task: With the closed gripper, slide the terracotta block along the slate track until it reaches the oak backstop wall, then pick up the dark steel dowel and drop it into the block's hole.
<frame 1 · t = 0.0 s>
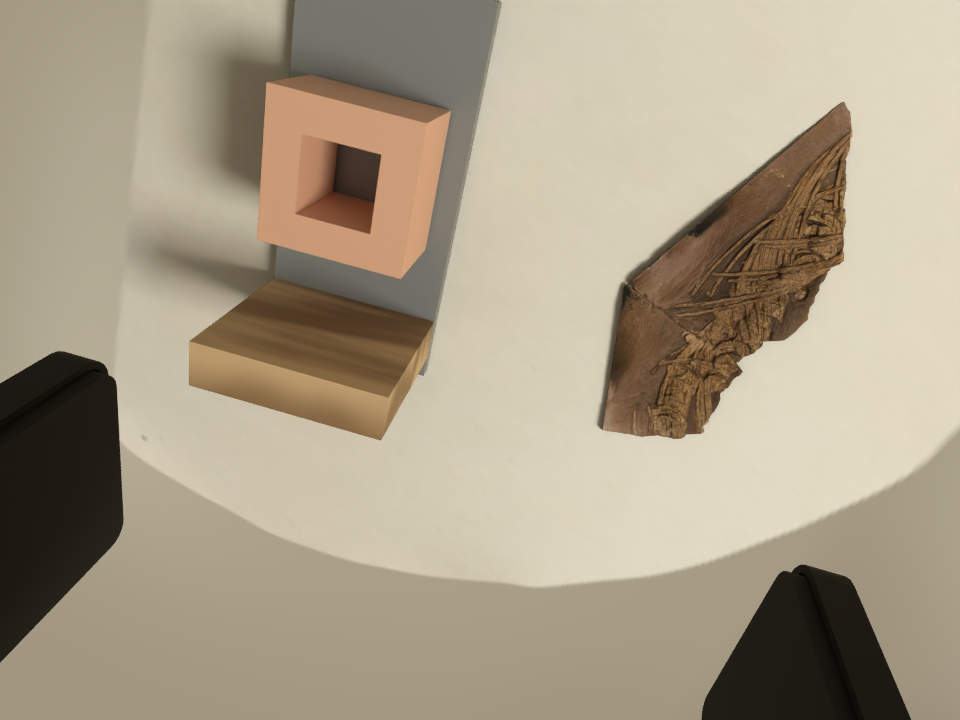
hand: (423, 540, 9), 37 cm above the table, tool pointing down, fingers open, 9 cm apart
backstop: (351, 318, 49), resting on track
track: (373, 187, 45), on the table
wooden fragment: (718, 291, 45), on the table
block: (354, 174, 41), point 4 cm above the table, slide at 0.0 cm
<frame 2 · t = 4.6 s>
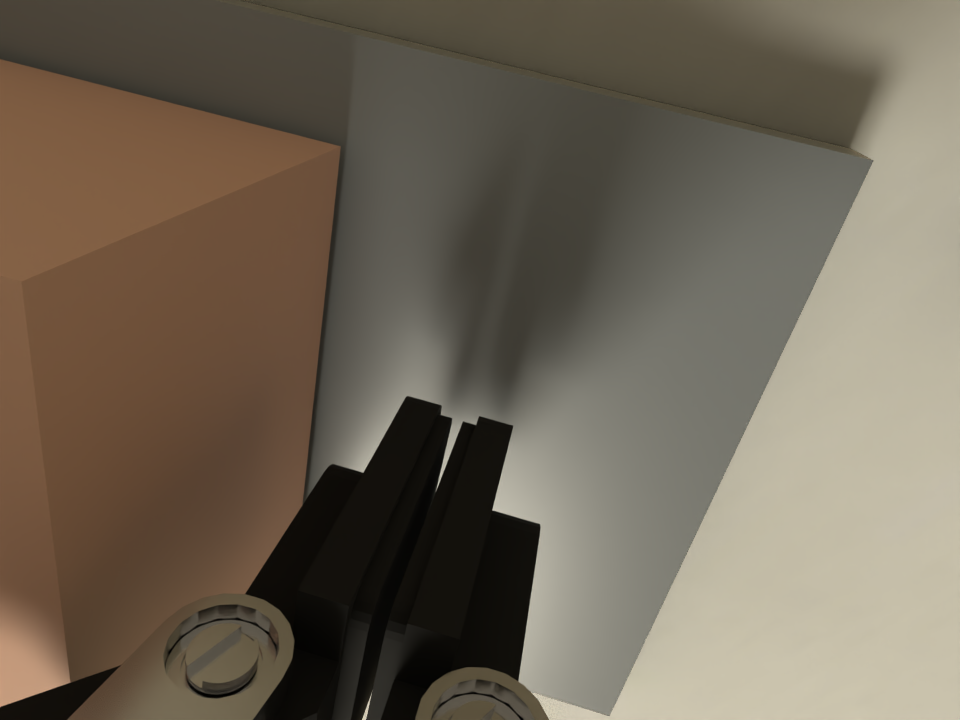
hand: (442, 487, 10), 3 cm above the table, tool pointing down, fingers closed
track: (89, 298, 14), on the table
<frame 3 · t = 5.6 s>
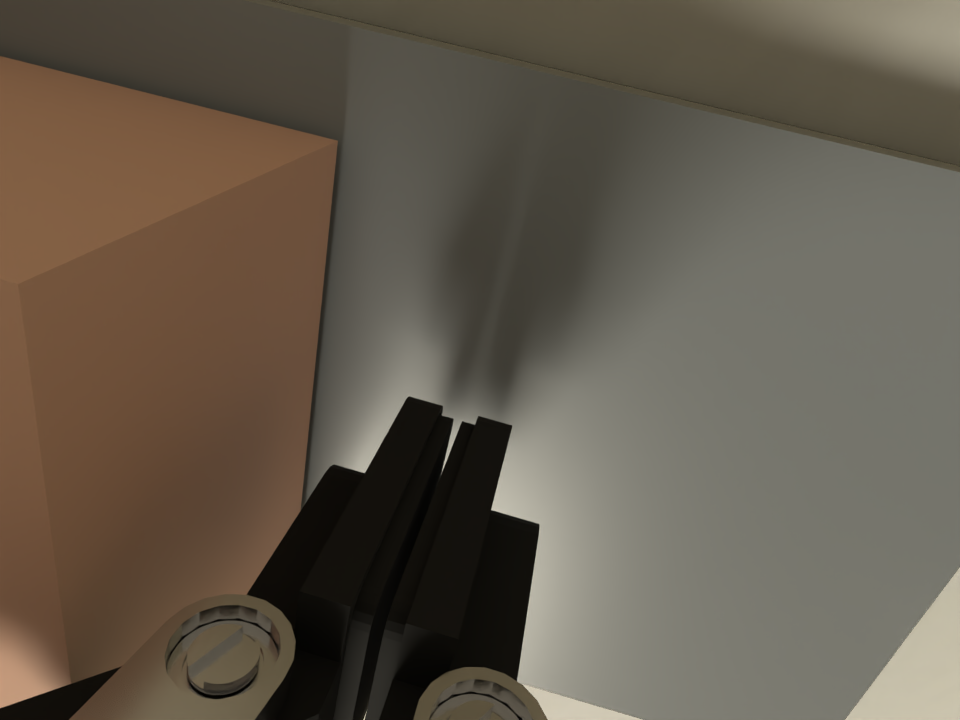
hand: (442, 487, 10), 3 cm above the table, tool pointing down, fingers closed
track: (288, 352, 13), on the table
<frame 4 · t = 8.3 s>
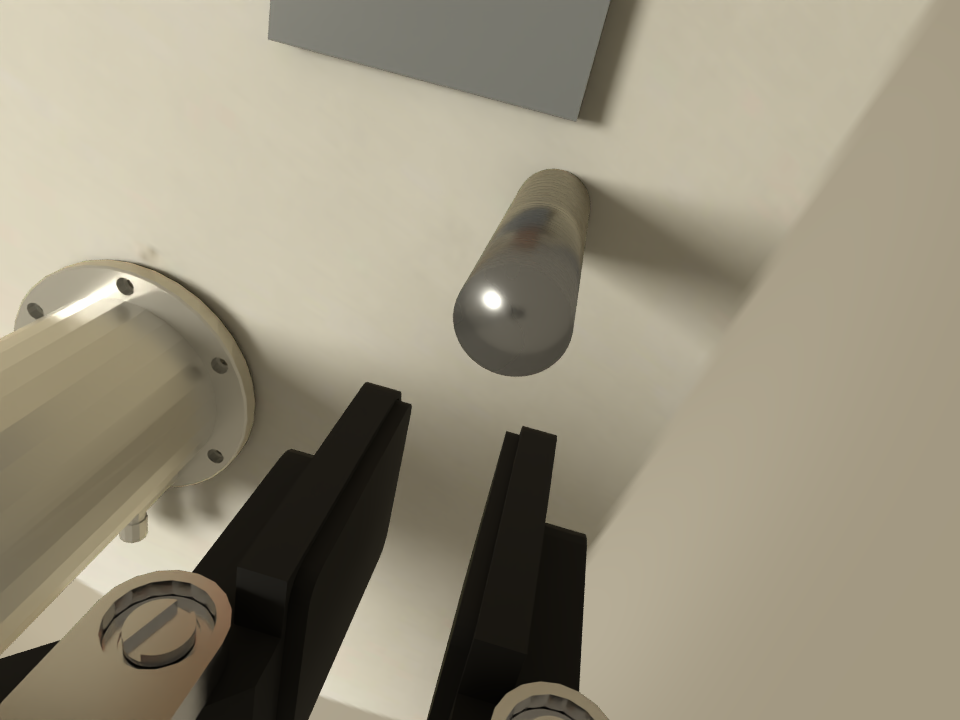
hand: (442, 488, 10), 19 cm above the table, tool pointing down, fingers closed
dowel: (552, 206, 27), on the table
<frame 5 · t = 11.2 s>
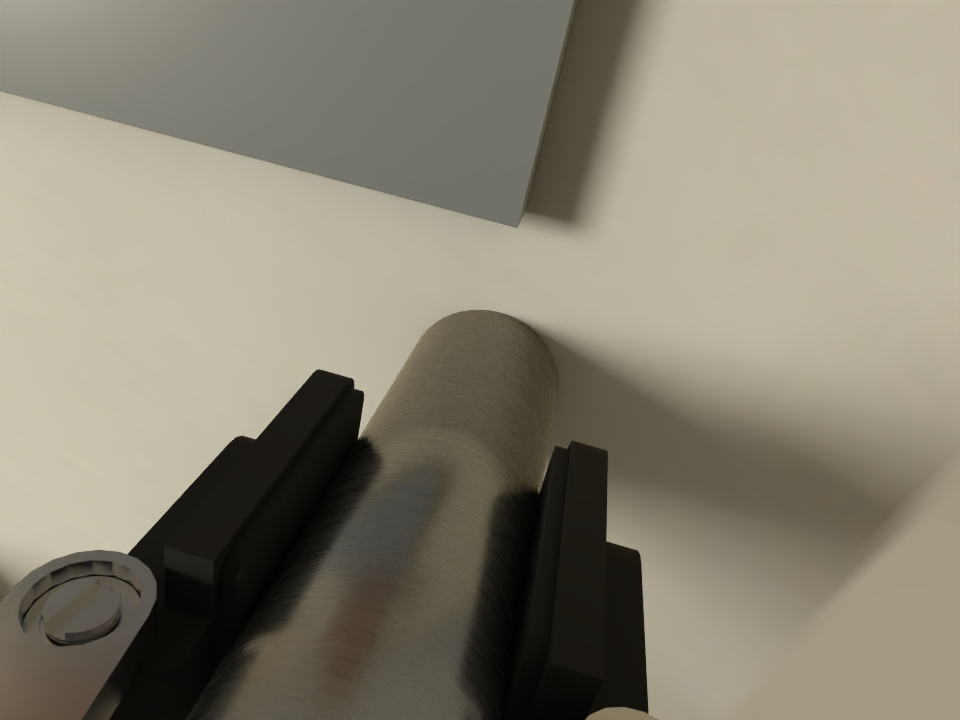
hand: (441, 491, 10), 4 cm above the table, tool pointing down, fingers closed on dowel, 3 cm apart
dowel: (482, 379, 14), on the table, touching gripper
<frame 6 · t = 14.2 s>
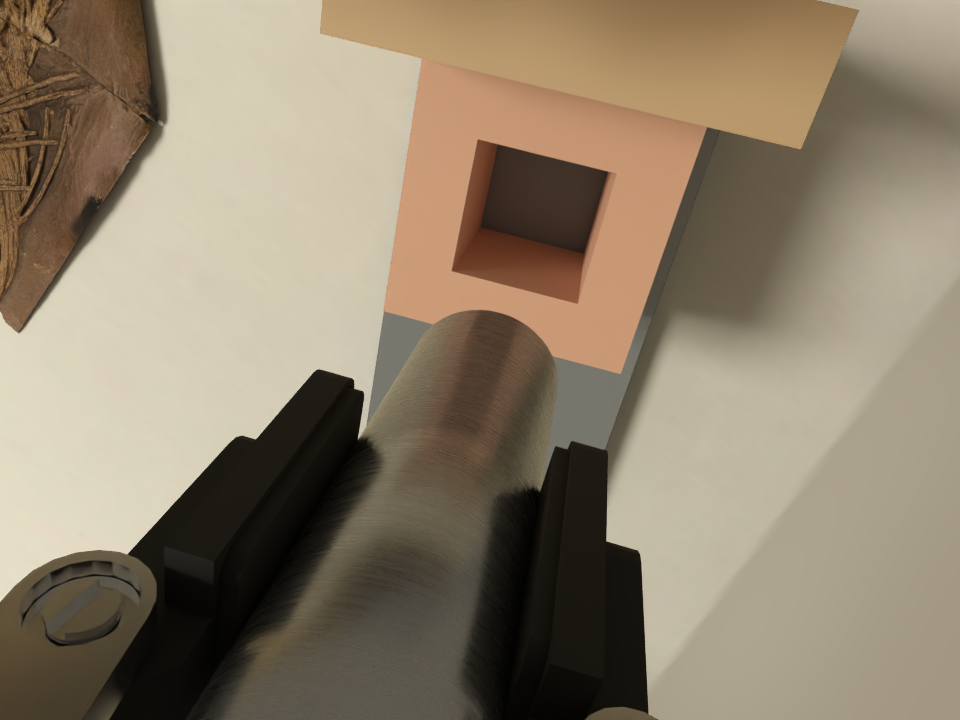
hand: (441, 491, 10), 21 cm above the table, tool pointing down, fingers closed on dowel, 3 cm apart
backstop: (586, 25, 25), resting on track
track: (529, 253, 31), on the table
wooden fragment: (49, 107, 32), on the table
block: (538, 204, 25), point 4 cm above the table, slide at 5.0 cm
dowel: (483, 379, 14), point 18 cm above the table, touching gripper
when the fingers open (8 cm above the table, at t = 17.0 s): dowel drops 3 cm, resting on track.
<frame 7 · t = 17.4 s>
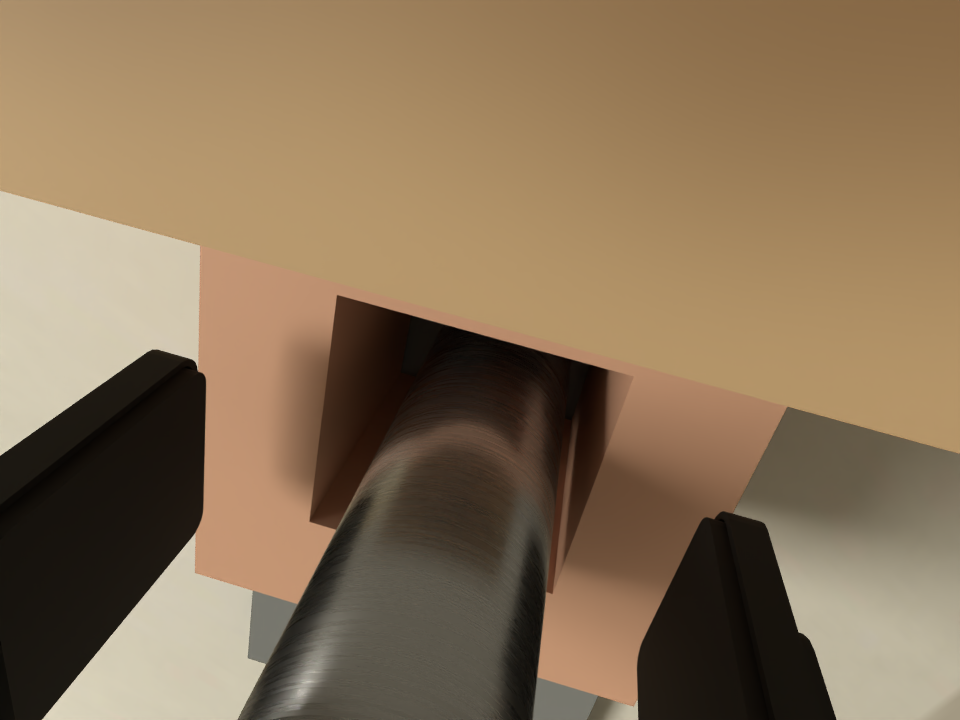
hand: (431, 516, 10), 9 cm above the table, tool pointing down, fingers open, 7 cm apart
backstop: (576, 43, 14), resting on track
track: (485, 403, 19), on the table
block: (484, 373, 14), point 4 cm above the table, slide at 5.0 cm
dowel: (513, 320, 17), point 1 cm above the table, touching track
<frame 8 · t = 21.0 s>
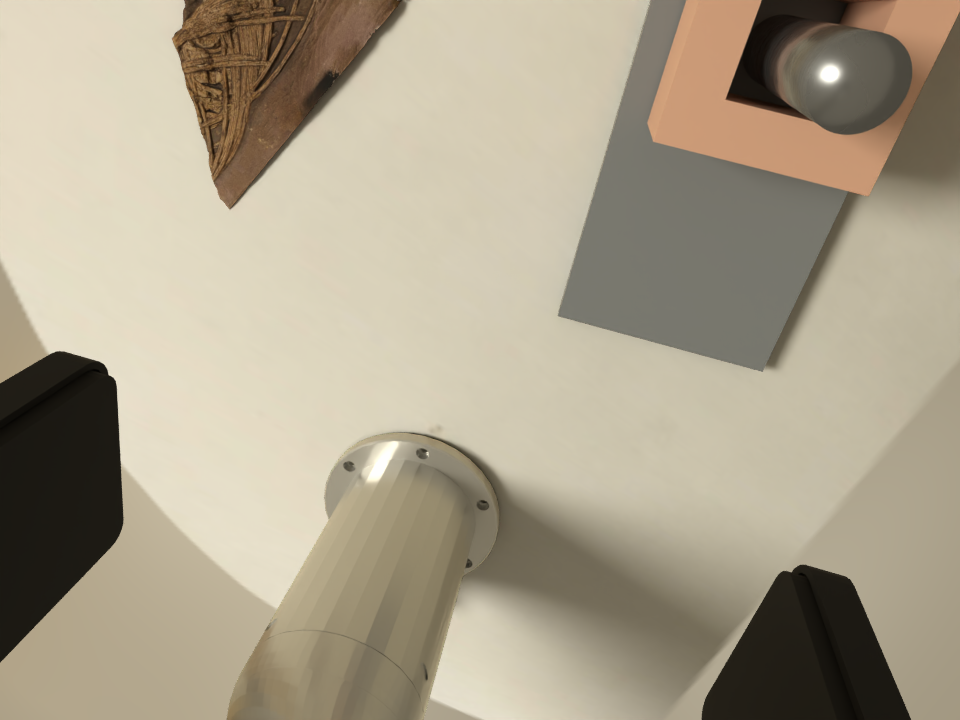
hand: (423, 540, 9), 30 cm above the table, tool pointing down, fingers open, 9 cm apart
track: (741, 117, 34), on the table
block: (789, 49, 28), point 4 cm above the table, slide at 5.0 cm
dowel: (776, 50, 31), point 1 cm above the table, touching track
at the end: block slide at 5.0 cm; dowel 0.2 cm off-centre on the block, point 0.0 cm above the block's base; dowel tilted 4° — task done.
